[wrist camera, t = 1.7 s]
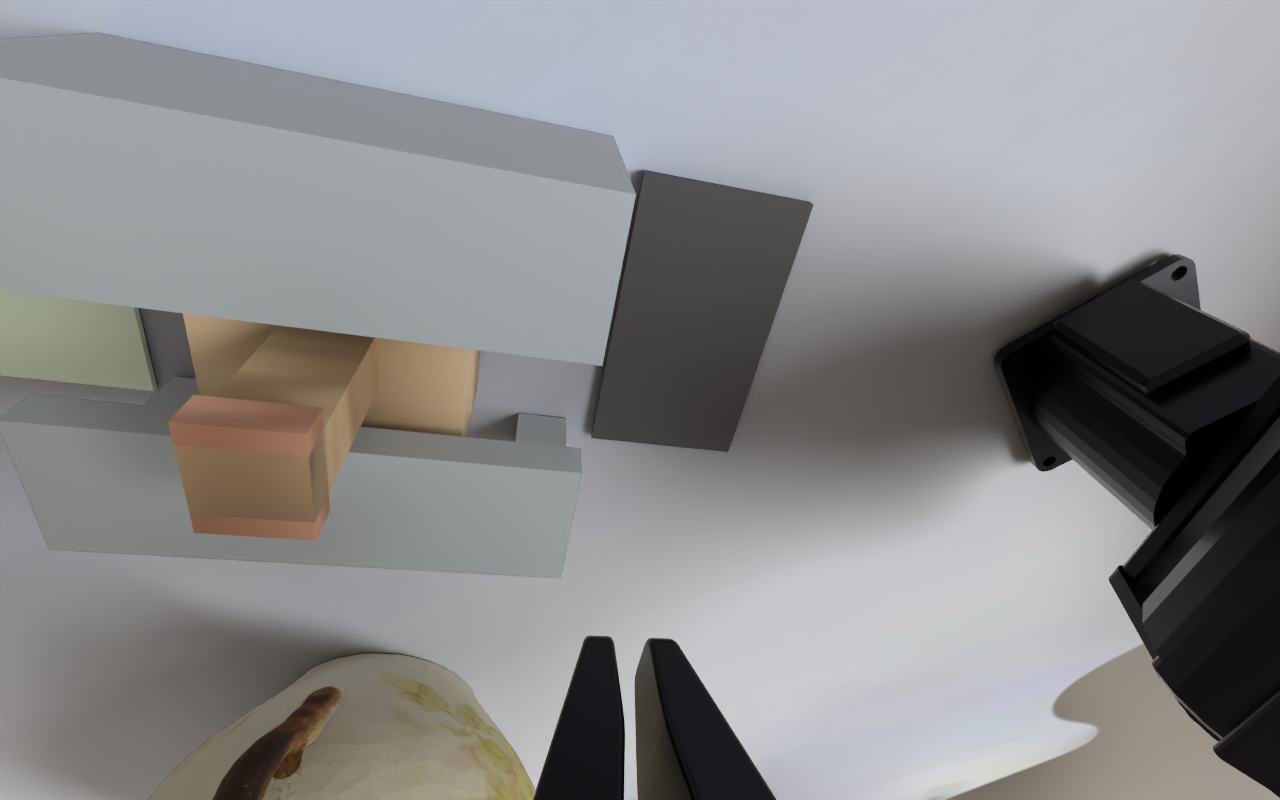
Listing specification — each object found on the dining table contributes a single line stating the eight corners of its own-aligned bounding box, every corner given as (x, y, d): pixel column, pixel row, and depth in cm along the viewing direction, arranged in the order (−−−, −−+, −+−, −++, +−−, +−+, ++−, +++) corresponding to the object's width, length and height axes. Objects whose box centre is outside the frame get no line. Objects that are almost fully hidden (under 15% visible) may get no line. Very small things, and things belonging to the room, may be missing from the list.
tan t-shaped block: (491, 202, 17) (437, 353, 9) (476, 389, 20) (428, 610, 13) (247, 160, 15) (-25, 296, 8) (272, 366, 19) (89, 595, 11)
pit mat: (809, 201, 18) (813, 204, 18) (726, 447, 23) (728, 451, 22) (643, 169, 17) (644, 172, 17) (591, 432, 22) (591, 438, 21)
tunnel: (613, 136, 16) (636, 194, 11) (561, 446, 22) (560, 578, 17) (98, 32, 14) (-157, 49, 9) (181, 408, 19) (49, 549, 14)
